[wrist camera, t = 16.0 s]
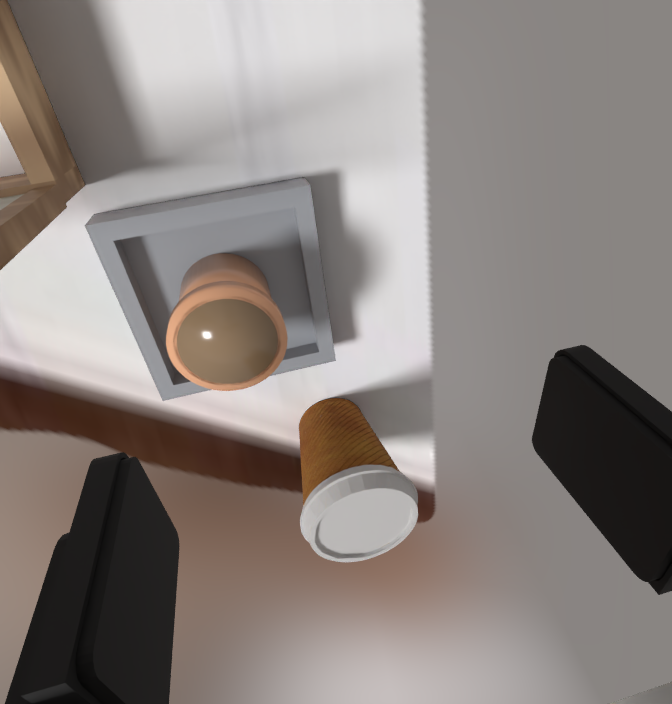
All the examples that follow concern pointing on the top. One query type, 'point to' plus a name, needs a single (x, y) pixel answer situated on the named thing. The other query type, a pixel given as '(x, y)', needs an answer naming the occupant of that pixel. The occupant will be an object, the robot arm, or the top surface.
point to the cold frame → (29, 147)
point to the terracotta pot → (226, 325)
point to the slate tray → (213, 238)
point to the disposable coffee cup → (350, 486)
